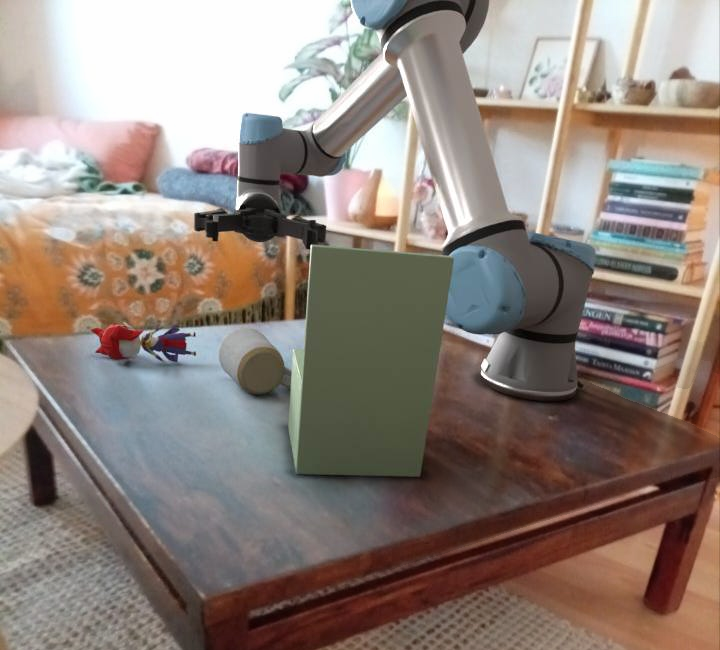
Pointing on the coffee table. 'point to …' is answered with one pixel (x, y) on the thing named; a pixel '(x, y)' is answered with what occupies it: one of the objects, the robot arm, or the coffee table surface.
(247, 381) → the ceramic mug
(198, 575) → the coffee table surface
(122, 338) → the figurine
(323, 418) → the tall sage green prism
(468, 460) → the coffee table surface
